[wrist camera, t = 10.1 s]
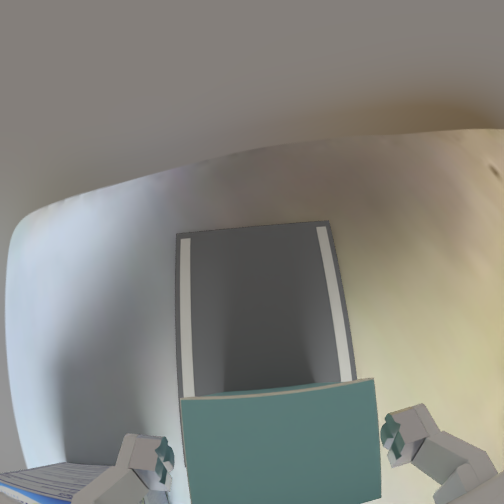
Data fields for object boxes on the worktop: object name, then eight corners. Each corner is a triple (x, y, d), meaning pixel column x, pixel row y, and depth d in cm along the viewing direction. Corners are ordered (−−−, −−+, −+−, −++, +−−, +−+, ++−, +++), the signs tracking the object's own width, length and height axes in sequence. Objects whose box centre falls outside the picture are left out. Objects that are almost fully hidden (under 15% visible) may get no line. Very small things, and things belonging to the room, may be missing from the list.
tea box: (223, 391, 17) (179, 398, 8) (316, 382, 17) (374, 377, 8) (228, 453, 15) (193, 520, 6) (321, 444, 15) (382, 498, 6)
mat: (177, 236, 22) (176, 233, 21) (327, 223, 22) (328, 219, 21) (186, 465, 15) (184, 467, 14) (361, 448, 15) (363, 449, 14)
